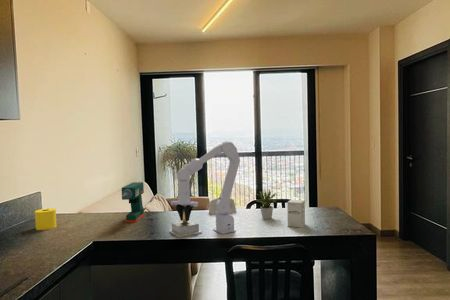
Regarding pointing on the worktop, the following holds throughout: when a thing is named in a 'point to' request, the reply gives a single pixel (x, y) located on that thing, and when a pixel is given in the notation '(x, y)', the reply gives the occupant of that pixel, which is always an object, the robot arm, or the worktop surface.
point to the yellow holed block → (45, 219)
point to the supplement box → (296, 213)
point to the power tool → (134, 200)
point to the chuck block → (185, 229)
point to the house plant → (266, 204)
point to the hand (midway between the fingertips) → (184, 220)
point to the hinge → (213, 207)
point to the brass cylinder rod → (183, 217)
